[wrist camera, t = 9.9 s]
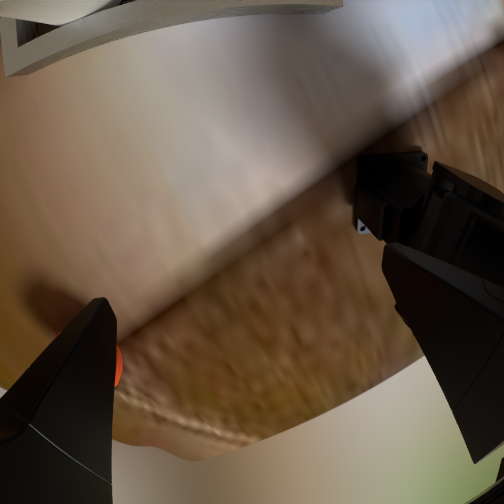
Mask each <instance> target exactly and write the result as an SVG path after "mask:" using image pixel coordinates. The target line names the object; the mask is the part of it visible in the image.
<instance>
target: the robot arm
mask: <svg viewBox="0 0 504 504" xmlns="http://www.w3.org/2000/svg"><path fill="white" fill-rule="evenodd" d="M422 156H423V158H422V160H421V157H422ZM364 160H366V163H365V164H364V165H363V161H364ZM427 164H428V156H427V154H426V153H424V152H422V151H417V152H399V153H384V154H371V155H362V156H360V157H359V158H358V161H357V183H356V185H355V203H354V215H355V216H356V226H355V228H356V230H357V232H358V233H360V234H365V233H372V234H373V235H374V236H375V237H376V238H377V239H378V240H379V241H382V240H384V242H385V243H386V245H385V246H384V251H383V258H382V271H383V274H384V276H385V278H386V280H387V282H388V285H389V287H390V289H391V291H392V294H393V296H394V299H395V301H396V304H395V309H396V311H397V313H398V314H399V315H400V316H401V318H402V319H403V321H404V322H405V324H406V325H407V326H408V327H409V328H410V329H411V330H412V332H413V335H414V336H415V338H416V340H417V341H418V343H419V345H420V347H421V349H422V351H423V353H424V355H425V357H426V359H427V361H428V363H429V364H430V366H431V368H432V370H433V372H434V374H435V376H436V378H437V381H438V382H439V385H440V387H441V389H442V391H443V393H444V395H445V397H446V399H447V402H448V404H449V406H450V408H451V410H452V413H453V415H454V417H455V420H456V422H457V424H458V426H459V429H460V431H461V433H462V436H463V438H464V441H465V443H466V446H467V448H468V451H469V453H470V455H471V458H472V460H473V463H474V464H476V463H478V462H479V461H481V460H483V459H484V458H485V457H487V456H488V455H490V454H491V453H493V452H494V451H495V450H497V449H498V448H500V447H501V446H502V445H504V194H503V193H502V192H501V191H500V190H498V189H497V188H495V187H493V186H492V185H490V184H488V183H486V182H485V181H483V180H481V179H479V178H477V177H475V176H473V175H470V174H468V173H465V172H463V171H461V170H458V169H455V168H453V167H450V166H448V165H445V164H442V163H440V162H437V161H435V162H434V165H433V168H432V169H433V173H432V175H431V174H429V173H428V172H427ZM362 226H363V228H362V229H360V228H361V227H362ZM116 364H117V320H116V316H115V314H114V312H113V310H112V308H111V306H110V304H109V302H108V300H107V299H106V298H105V297H100V298H95V299H93V300H92V301H91V302H90V303H89V304H88V305H87V306H86V307H85V308H84V309H83V310H82V311H81V312H80V313H79V314H78V315H77V316H76V317H75V318H74V319H73V320H72V321H71V322H70V323H69V324H68V325H67V326H66V327H65V328H64V329H63V330H62V332H61V333H60V334H59V335H58V336H57V337H56V338H55V339H54V340H53V341H52V342H51V343H50V344H49V345H48V347H47V348H46V349H45V350H44V351H43V352H42V353H41V354H40V355H39V356H38V358H37V359H36V360H35V361H34V362H33V363H32V364H31V365H30V368H28V369H27V370H26V371H25V372H24V373H23V375H22V376H21V377H20V378H19V379H18V380H17V381H16V382H15V383H14V385H13V386H12V387H11V388H10V389H9V390H8V391H7V392H6V393H5V394H4V395H3V396H2V397H1V398H0V504H113V501H112V485H111V484H112V472H111V468H112V467H111V456H112V453H111V451H112V420H113V402H114V388H115V376H116ZM465 504H504V457H503V458H502V460H501V464H500V468H499V472H498V475H497V479H496V482H495V483H494V484H493V485H492V486H490V487H489V488H487V489H486V490H484V491H483V492H482V493H480V494H479V495H477V496H476V497H474V498H473V499H471V500H469V501H468V502H466V503H465Z"/></svg>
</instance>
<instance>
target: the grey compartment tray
mask: <svg viewBox="0 0 504 504" xmlns="http://www.w3.org/2000/svg"><path fill="white" fill-rule="evenodd" d="M342 6H343V3H342V0H135V1H134V2H130V3H126V4H123V5H120V6H116V7H113V8H110V9H107V10H104V11H101V12H98V13H95V14H92V15H90V16H87V17H84V18H81V19H79V20H76V21H74V22H71V23H69V24H66V25H64V26H62V27H59V28H57V29H55V30H53V31H50V32H48V33H46V34H44V35H42V36H40V37H38V29H37V22H34V21H28V20H22V19H16V18H9V17H1V16H0V34H1V46H2V55H3V63H4V70H5V77H13V76H21V75H28V74H30V73H33V72H35V71H37V70H39V69H41V68H43V67H45V66H48V65H50V64H52V63H55V62H57V61H59V60H62V59H64V58H66V57H69V56H71V55H74V54H77V53H79V52H82V51H85V50H87V49H90V48H93V47H96V46H99V45H102V44H105V43H108V42H111V41H114V40H118V39H121V38H124V37H128V36H131V35H135V34H139V33H143V32H147V31H151V30H155V29H159V28H164V27H168V26H173V25H178V24H184V23H189V22H195V21H201V20H208V19H215V18H223V17H231V16H242V15H254V14H272V13H327V12H329V11H332V10H334V9H337V8H339V7H342Z"/></svg>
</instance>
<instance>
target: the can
mask: <svg viewBox="0 0 504 504" xmlns="http://www.w3.org/2000/svg"><path fill="white" fill-rule="evenodd" d="M121 1H122V0H0V16H1V17H9V18H16V19H22V20H28V21H34V22H40V23H45V24H50V25H55V26H61V27H62V26H64V25H66V24H69V23H71V22H74V21H76V20H79V19H81V18H84V17H87V16H90V15H92V14H95V13H98V12H101V11H104V10H107V9H110V8H113V7H116V6H118V5H119V4H120V2H121Z"/></svg>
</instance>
